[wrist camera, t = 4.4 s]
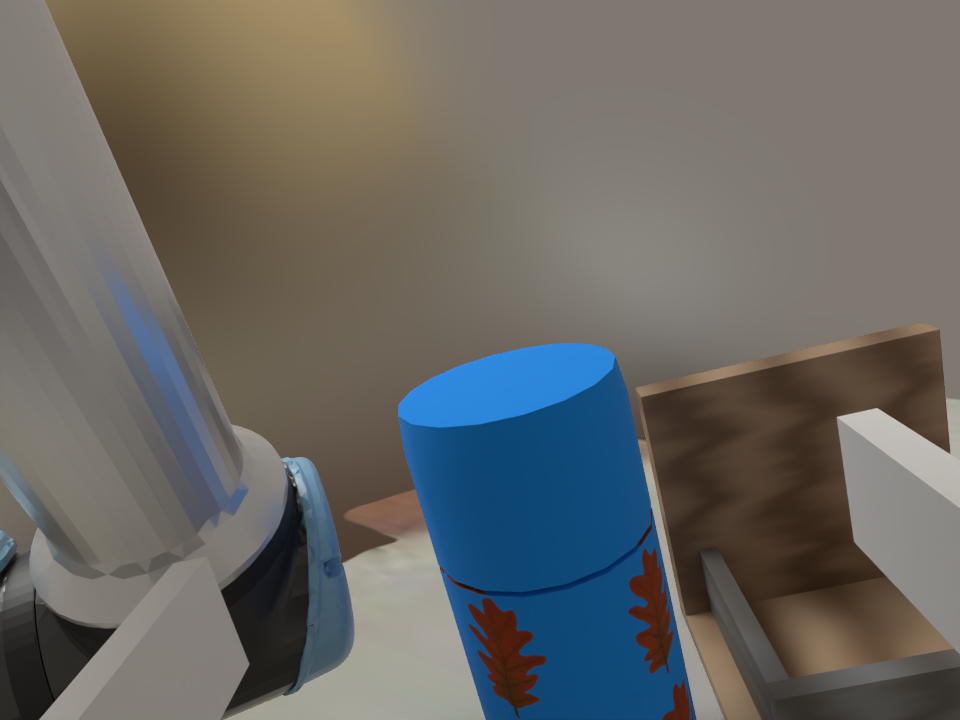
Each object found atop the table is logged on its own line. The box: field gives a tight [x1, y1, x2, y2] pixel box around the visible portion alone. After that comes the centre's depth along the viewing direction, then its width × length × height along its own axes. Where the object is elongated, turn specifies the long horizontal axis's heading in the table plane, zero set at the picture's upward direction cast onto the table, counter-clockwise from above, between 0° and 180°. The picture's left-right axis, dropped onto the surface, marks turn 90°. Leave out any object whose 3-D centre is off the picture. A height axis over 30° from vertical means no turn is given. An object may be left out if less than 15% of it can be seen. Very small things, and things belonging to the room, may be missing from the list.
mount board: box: [635, 323, 960, 720], centre depth 41 cm, size 19×17×18 cm
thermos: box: [398, 344, 696, 720], centre depth 36 cm, size 11×11×25 cm
